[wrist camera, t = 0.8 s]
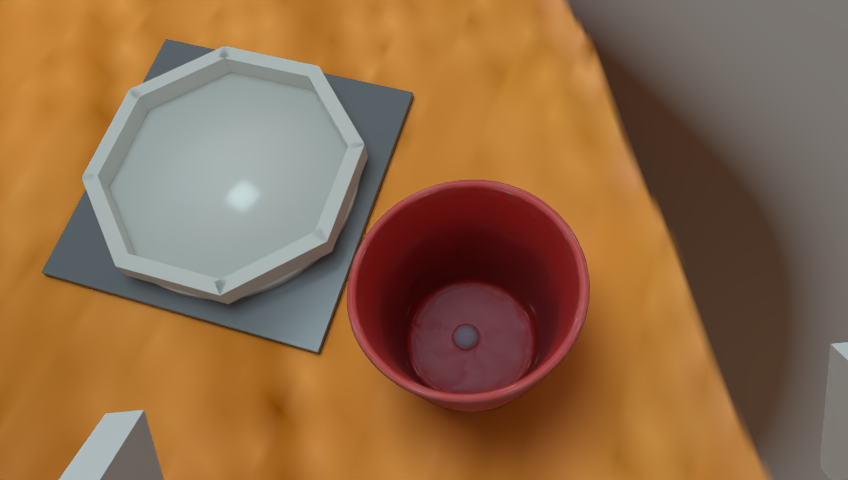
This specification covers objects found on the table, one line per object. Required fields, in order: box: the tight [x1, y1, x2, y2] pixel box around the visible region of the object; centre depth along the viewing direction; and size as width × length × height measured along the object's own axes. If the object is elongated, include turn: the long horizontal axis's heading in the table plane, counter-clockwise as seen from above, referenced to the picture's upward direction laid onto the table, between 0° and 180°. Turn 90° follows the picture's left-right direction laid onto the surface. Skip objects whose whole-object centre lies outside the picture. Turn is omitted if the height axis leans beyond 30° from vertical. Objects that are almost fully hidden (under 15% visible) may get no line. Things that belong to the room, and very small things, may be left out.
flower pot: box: [347, 180, 590, 412], centre depth 38 cm, size 11×11×10 cm
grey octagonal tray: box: [42, 39, 413, 354], centre depth 46 cm, size 18×18×3 cm
